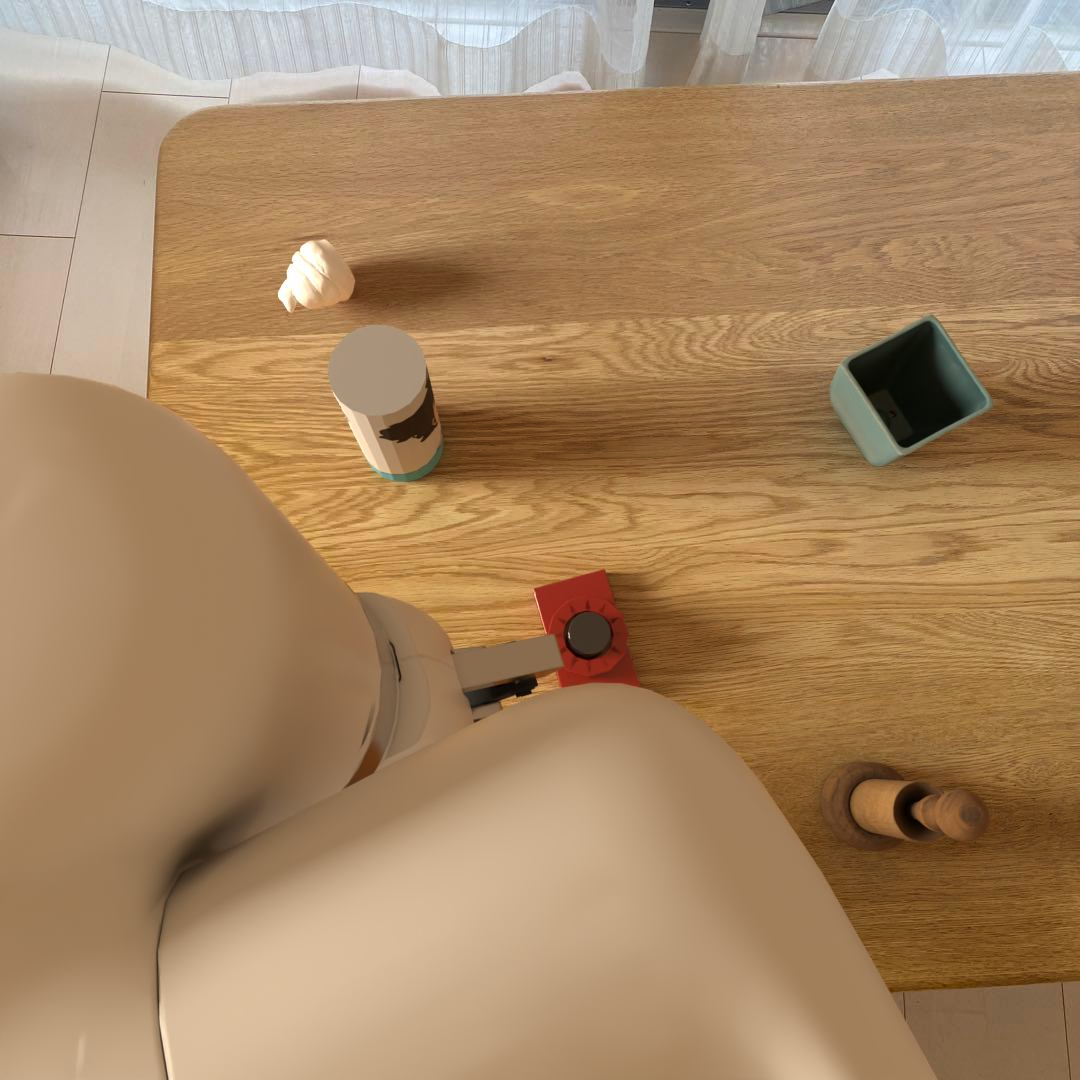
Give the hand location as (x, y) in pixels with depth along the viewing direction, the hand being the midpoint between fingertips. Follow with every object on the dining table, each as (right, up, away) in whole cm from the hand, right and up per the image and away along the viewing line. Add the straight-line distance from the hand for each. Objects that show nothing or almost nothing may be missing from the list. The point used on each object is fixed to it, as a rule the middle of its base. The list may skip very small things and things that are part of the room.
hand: (359, 730), depth 40 cm
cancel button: (+11, +1, +32) cm, 34 cm away
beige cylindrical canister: (-4, +16, +38) cm, 42 cm away
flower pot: (+36, +18, +40) cm, 57 cm away
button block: (+11, 0, +35) cm, 36 cm away
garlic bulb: (-12, +29, +41) cm, 52 cm away
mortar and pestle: (+33, -12, +32) cm, 48 cm away
